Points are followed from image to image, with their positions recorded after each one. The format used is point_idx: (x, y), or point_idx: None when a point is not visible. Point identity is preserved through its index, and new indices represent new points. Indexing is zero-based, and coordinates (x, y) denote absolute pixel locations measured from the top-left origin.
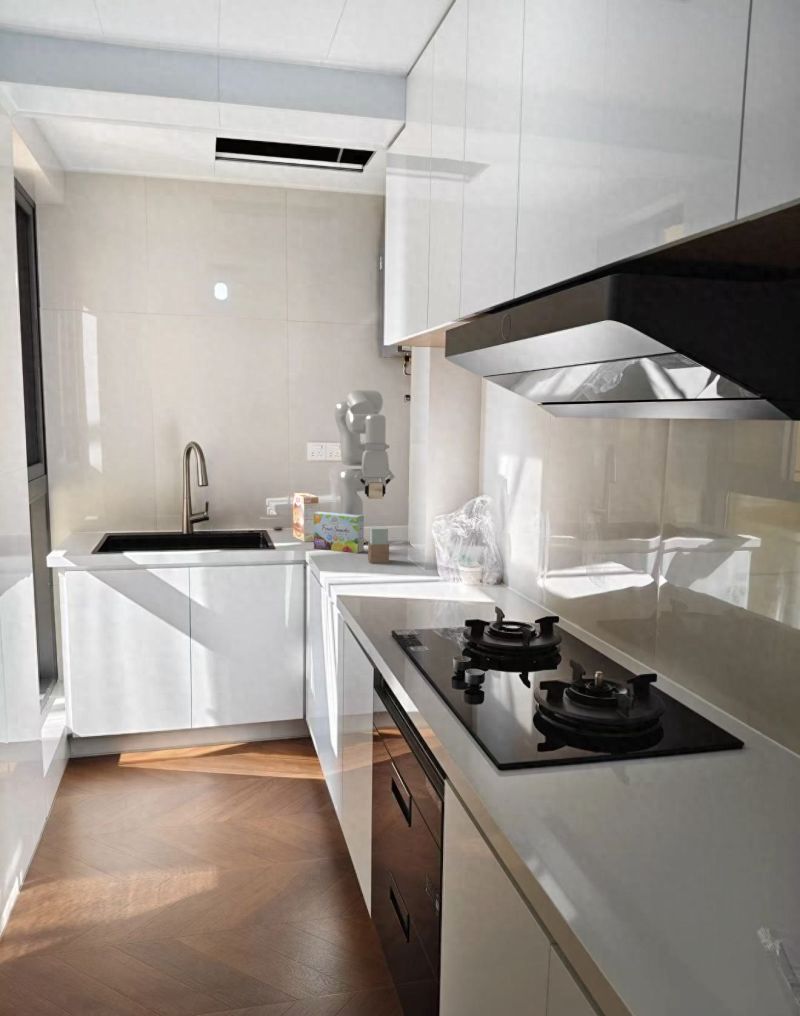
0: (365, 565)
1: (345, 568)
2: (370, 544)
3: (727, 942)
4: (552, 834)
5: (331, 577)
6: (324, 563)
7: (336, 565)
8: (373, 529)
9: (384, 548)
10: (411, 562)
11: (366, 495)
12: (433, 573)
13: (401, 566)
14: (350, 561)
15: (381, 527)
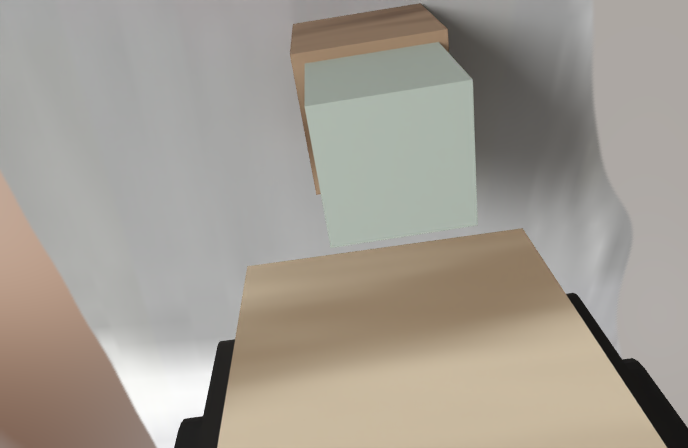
0: (289, 197)
1: (188, 278)
2: (314, 164)
3: None
4: None
5: (165, 440)
6: (28, 158)
7: (119, 209)
8: (344, 243)
9: None
10: (574, 88)
11: (223, 356)
12: (615, 343)
13: (492, 208)
14: (178, 82)
15: (423, 147)
